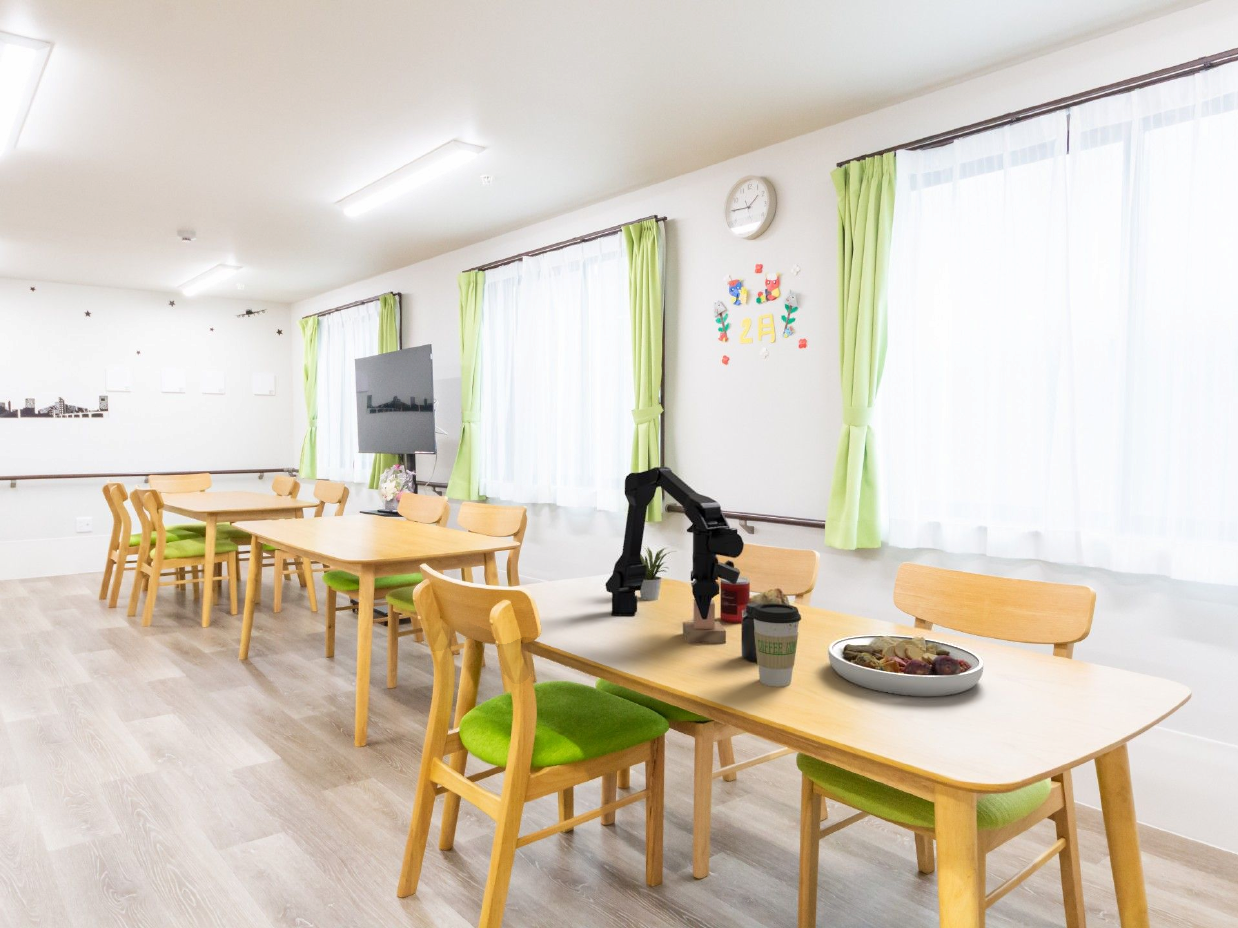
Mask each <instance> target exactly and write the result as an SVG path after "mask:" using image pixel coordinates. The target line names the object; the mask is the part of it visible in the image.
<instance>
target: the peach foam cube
mask: <svg viewBox="0 0 1238 928" xmlns="http://www.w3.org/2000/svg"><path fill="white" fill-rule="evenodd" d="M692 602H693V603H692V604H693V605H692V607H693V609H692V610H693V611H692V612H693V614H692V617H693V618H692V620H693V621H692V622H693V626H694V629H715V619H716V603H715V600H714V599H712V600H711V603H710V607H709V612H708V616H707V619H702V617H701V614H700V612H699V609H698V606H697V604H696V601H695V598H693V601H692Z"/></svg>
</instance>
